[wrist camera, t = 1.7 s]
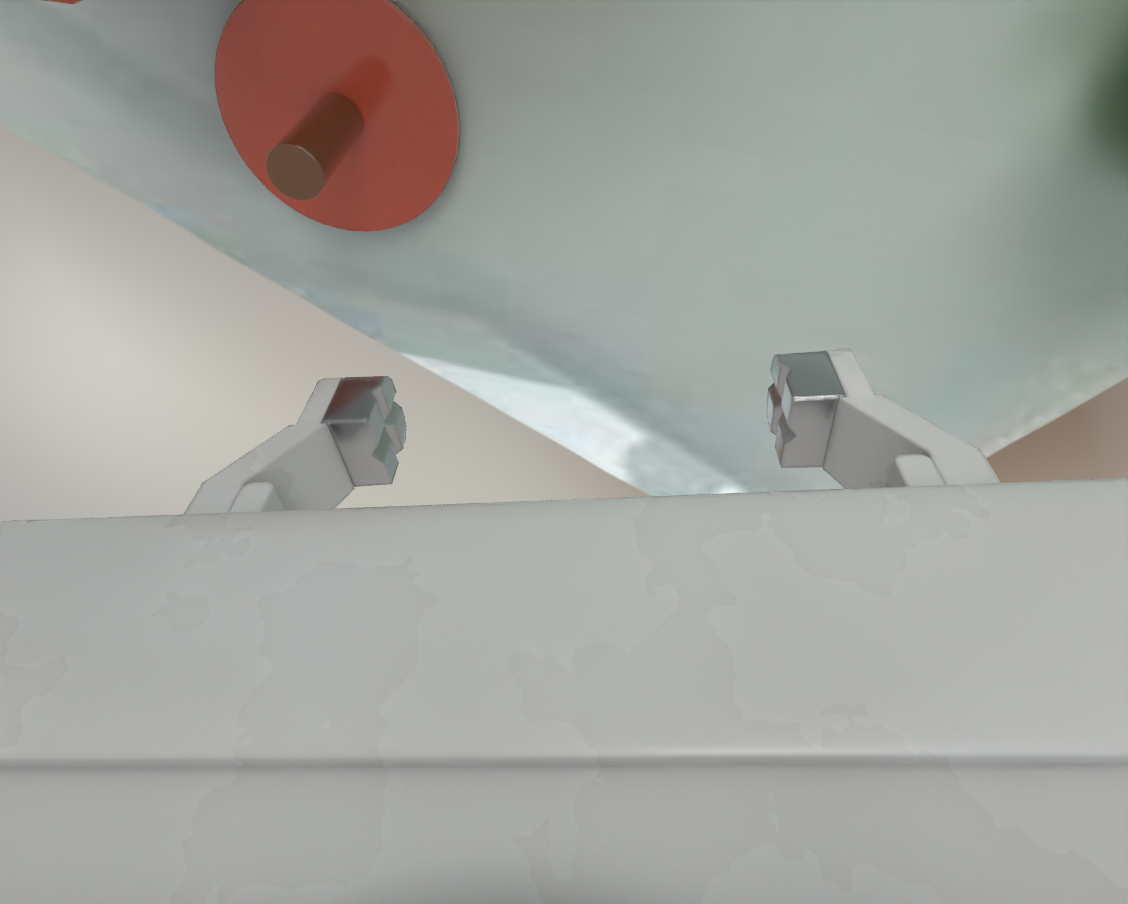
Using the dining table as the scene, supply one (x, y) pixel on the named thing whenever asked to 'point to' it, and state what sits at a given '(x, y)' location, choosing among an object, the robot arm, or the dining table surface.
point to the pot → (65, 1)
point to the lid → (338, 108)
